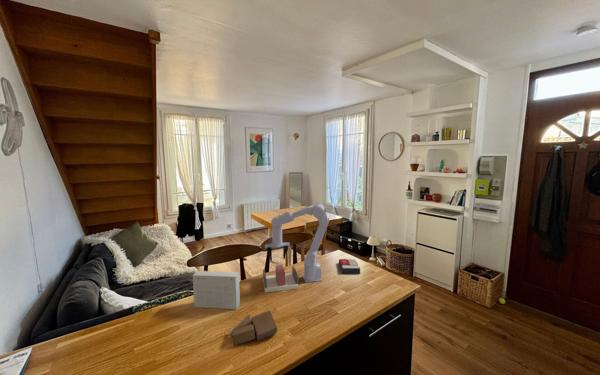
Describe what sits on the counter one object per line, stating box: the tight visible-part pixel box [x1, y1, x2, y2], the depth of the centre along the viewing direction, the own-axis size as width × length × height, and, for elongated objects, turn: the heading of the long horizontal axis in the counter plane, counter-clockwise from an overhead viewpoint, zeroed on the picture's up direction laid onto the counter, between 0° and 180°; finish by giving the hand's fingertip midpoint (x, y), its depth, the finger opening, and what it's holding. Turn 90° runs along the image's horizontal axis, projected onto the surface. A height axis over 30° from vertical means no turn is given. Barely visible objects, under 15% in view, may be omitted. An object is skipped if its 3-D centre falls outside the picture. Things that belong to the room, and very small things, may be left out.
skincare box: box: [192, 270, 241, 310], centre depth 117 cm, size 21×6×16 cm, turn 84°
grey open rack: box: [262, 266, 300, 293], centre depth 137 cm, size 18×14×6 cm
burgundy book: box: [274, 264, 286, 286], centre depth 136 cm, size 4×10×7 cm, turn 13°
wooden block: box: [229, 309, 278, 346], centre depth 100 cm, size 8×13×18 cm
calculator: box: [338, 258, 361, 275], centre depth 156 cm, size 11×4×15 cm
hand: (277, 259), depth 146 cm, fingers open, 7 cm apart
